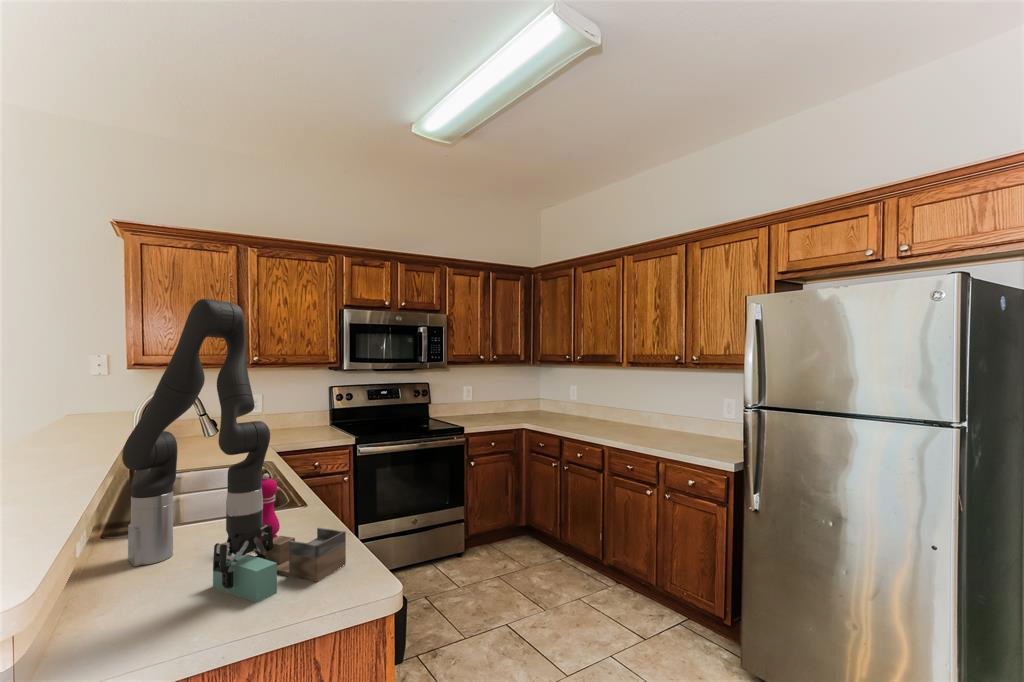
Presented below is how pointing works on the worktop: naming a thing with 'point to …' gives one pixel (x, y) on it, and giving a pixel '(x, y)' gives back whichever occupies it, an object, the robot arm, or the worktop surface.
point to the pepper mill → (269, 504)
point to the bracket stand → (309, 555)
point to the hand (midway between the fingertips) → (244, 579)
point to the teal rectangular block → (251, 578)
